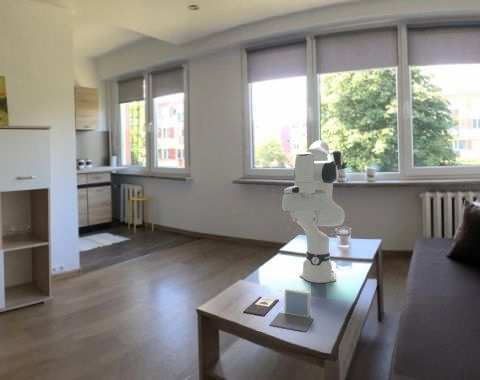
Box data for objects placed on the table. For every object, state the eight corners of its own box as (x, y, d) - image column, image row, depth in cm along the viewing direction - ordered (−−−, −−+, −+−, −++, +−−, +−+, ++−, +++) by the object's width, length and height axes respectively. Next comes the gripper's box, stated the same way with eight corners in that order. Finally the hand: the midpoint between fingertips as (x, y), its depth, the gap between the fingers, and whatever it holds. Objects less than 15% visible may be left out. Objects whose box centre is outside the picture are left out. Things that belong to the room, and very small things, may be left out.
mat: (279, 313, 155) (279, 312, 155) (313, 319, 149) (313, 318, 149) (269, 325, 144) (269, 324, 144) (306, 332, 138) (306, 331, 138)
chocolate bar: (243, 311, 156) (259, 296, 172) (243, 313, 156) (259, 298, 172) (264, 315, 152) (278, 299, 168) (264, 317, 152) (278, 301, 168)
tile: (286, 311, 157) (286, 287, 156) (310, 315, 153) (310, 291, 152) (284, 313, 155) (284, 289, 154) (308, 317, 151) (309, 293, 150)
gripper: (322, 189, 172) (322, 220, 171) (280, 189, 166) (280, 221, 165) (329, 189, 166) (329, 221, 165) (286, 189, 160) (286, 222, 159)
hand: (304, 221), depth 165 cm, fingers open, 8 cm apart
